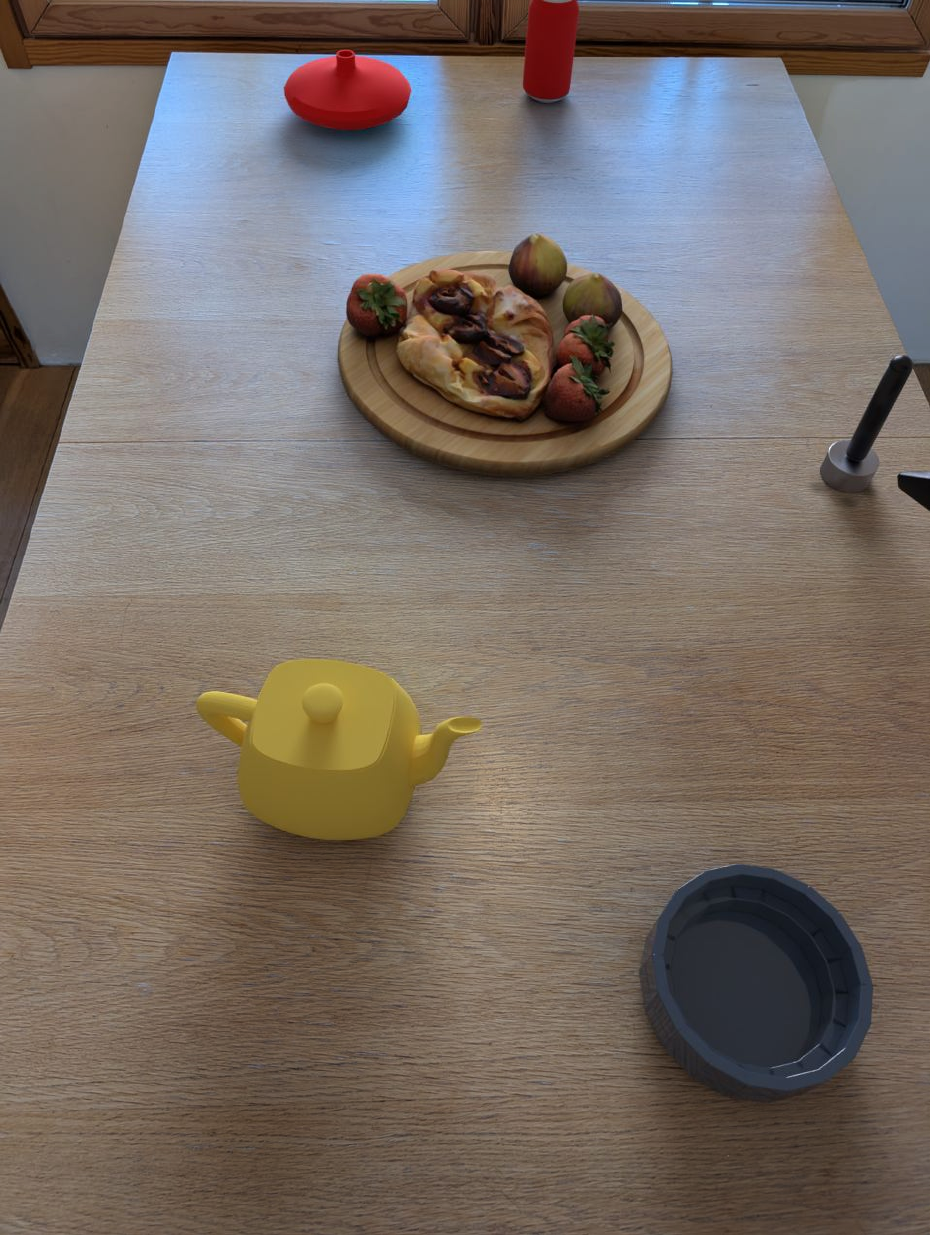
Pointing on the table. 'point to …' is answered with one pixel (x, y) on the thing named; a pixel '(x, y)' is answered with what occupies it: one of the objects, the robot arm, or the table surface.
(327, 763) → the teapot
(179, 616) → the table surface
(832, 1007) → the bowl
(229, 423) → the table surface
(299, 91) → the red vase
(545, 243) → the wooden plate
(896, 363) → the coffee tamper
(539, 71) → the beverage can
